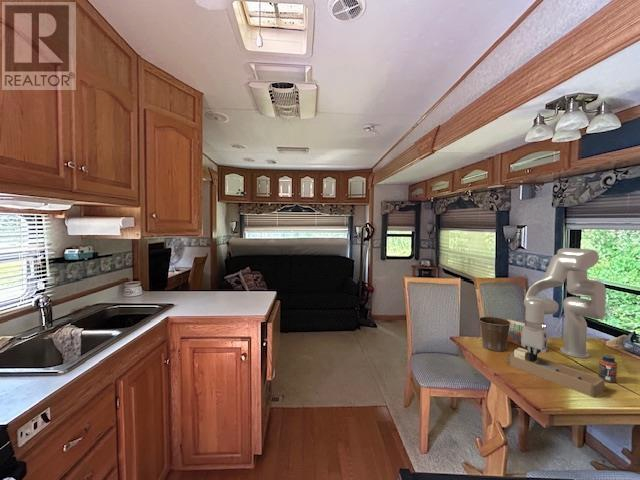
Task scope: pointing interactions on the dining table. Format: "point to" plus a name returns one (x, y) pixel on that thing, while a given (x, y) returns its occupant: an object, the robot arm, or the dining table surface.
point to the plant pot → (494, 333)
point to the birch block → (522, 354)
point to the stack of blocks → (515, 332)
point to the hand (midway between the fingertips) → (532, 360)
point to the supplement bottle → (608, 368)
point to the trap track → (560, 375)
